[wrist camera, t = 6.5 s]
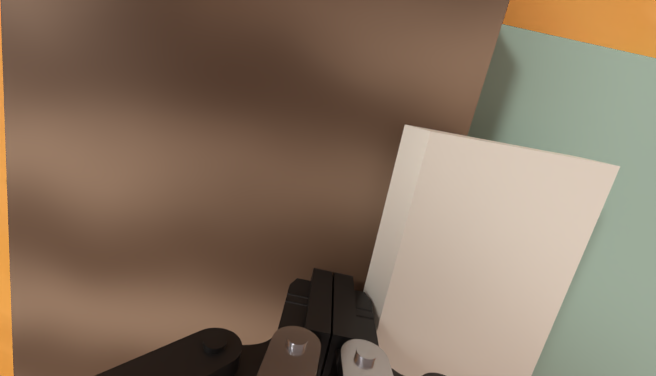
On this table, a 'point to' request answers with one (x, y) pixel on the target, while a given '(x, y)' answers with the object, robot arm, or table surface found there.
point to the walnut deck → (209, 157)
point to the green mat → (623, 199)
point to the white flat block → (478, 251)
